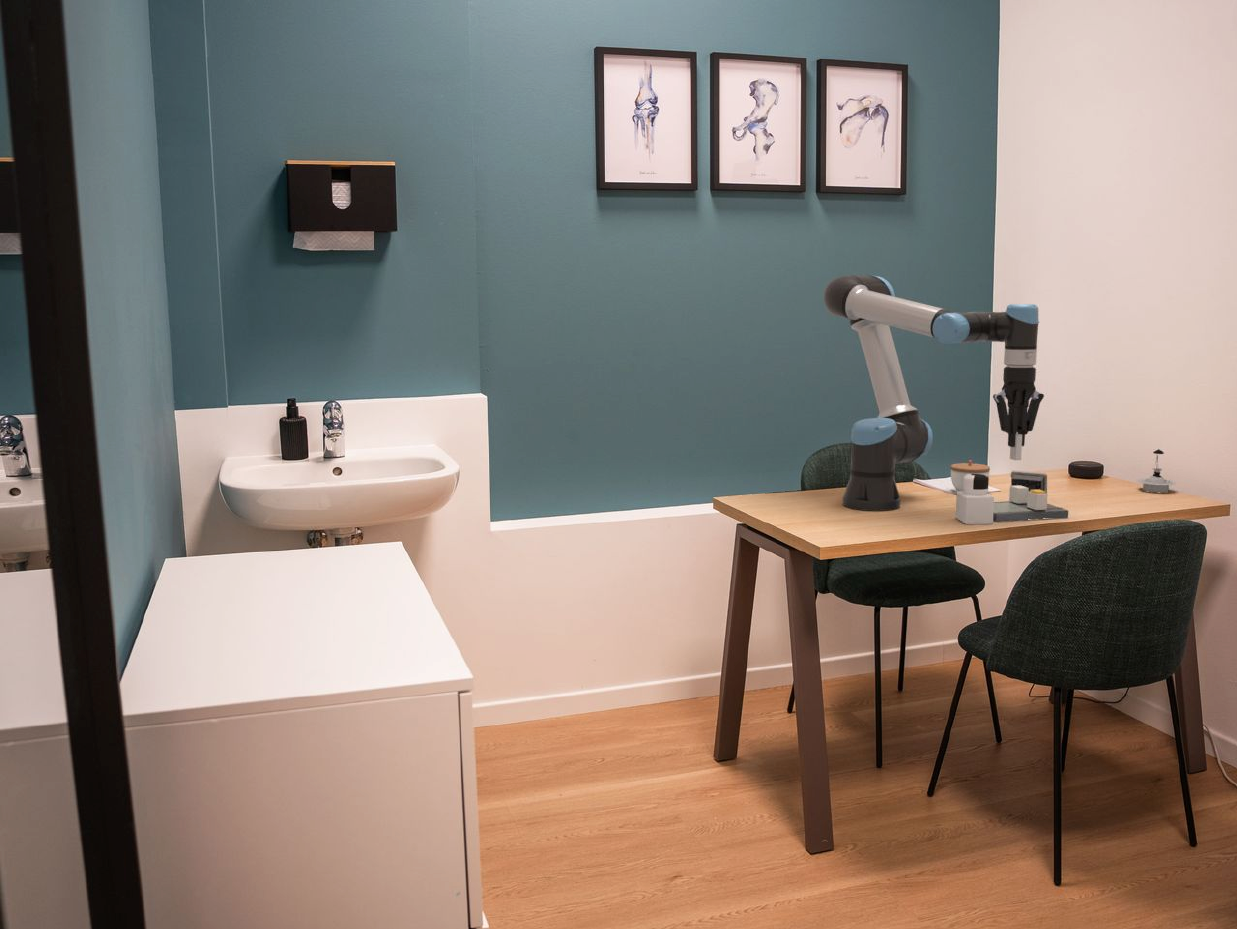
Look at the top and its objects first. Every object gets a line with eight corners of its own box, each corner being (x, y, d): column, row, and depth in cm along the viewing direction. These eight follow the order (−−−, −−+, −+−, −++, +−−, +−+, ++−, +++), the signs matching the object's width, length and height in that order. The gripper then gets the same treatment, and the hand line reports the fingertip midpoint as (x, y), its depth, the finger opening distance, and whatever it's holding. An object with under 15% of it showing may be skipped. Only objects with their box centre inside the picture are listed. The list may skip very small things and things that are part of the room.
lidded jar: (983, 489, 305) (985, 457, 303) (992, 496, 294) (994, 463, 293) (946, 488, 306) (947, 457, 304) (953, 495, 295) (955, 463, 294)
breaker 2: (1035, 510, 264) (1037, 492, 264) (1027, 506, 268) (1028, 489, 267) (1046, 509, 265) (1047, 491, 264) (1037, 506, 269) (1038, 489, 268)
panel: (996, 521, 262) (996, 514, 261) (967, 510, 275) (968, 503, 275) (1067, 518, 265) (1068, 510, 265) (1036, 507, 279) (1036, 499, 278)
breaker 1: (1017, 503, 273) (1018, 488, 272) (1009, 500, 276) (1009, 485, 276) (1027, 503, 273) (1028, 488, 272) (1019, 500, 277) (1020, 485, 276)
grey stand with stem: (1185, 451, 293) (1167, 446, 303) (1150, 451, 293) (1132, 446, 303) (1182, 494, 295) (1163, 487, 305) (1146, 494, 295) (1129, 488, 305)
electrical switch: (1047, 504, 283) (1048, 471, 280) (1043, 509, 278) (1044, 476, 276) (1011, 501, 288) (1012, 468, 285) (1007, 506, 283) (1008, 473, 281)
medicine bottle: (982, 518, 266) (984, 472, 264) (993, 524, 259) (995, 477, 257) (955, 518, 266) (957, 472, 264) (965, 524, 259) (967, 477, 257)
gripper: (1004, 367, 254) (999, 462, 258) (1052, 366, 257) (1047, 460, 260) (988, 365, 262) (984, 458, 265) (1035, 364, 264) (1030, 456, 268)
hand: (1015, 459), depth 263 cm, fingers closed
